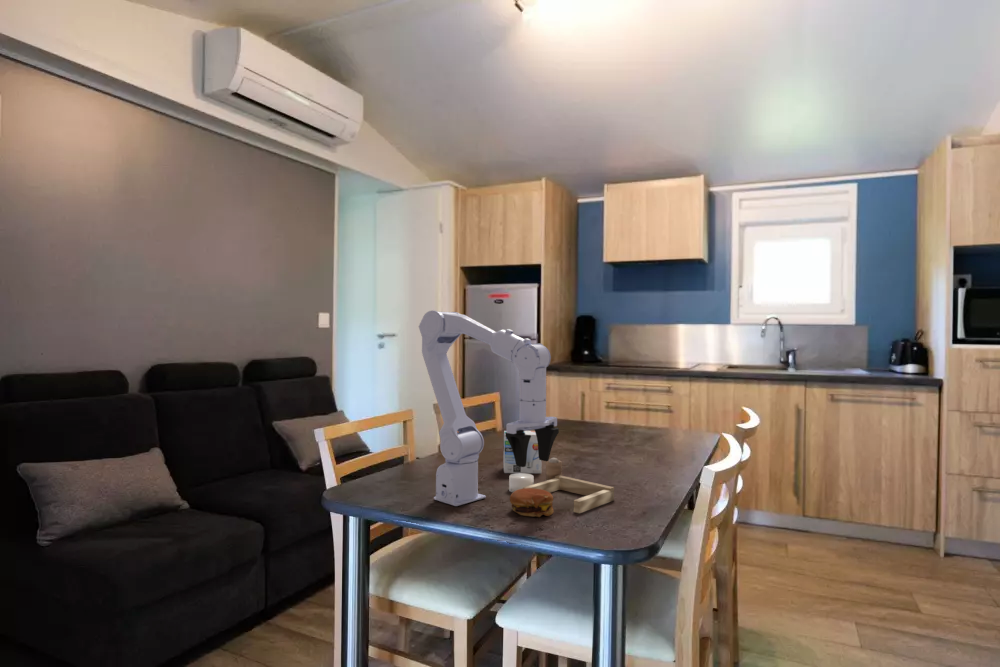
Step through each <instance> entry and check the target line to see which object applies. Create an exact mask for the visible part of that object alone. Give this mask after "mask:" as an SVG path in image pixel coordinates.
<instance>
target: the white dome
mask: <svg viewBox="0 0 1000 667" xmlns="http://www.w3.org/2000/svg"><path fill="white" fill-rule="evenodd" d="M508 478H509V479H508V480H509V482H508V490H509V492H510V493H513V492H514V491H516V490H518V489H523V487H527V486H530V485H534V484H535V482H534V481H535V480H534V478H535V477H534V475H533V474H532V473H510V475H509V477H508Z"/></svg>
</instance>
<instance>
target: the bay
mask: <svg viewBox="0 0 1000 667" xmlns="http://www.w3.org/2000/svg"><path fill="white" fill-rule="evenodd" d="M524 488H534V489H542V490H545V491H548V492H549V493H554V492H556V491H560V490H562V491H565V492H569V493H572V494H573V493H574V494H578V495H581V497H579V498H576V499H574V500H573V513H576V514H582V513H585V512H588V511H590V510H593V509H595V508H598V507H600V506H603V505H606V504H608V503H610V502H613V501H615V487H614V486H609V485H606V484H601V483H596V482H591V481H588V480H583V479H578V478H574V477H570V476H564V475H562V476H561V475H558V476H555V478H554V479H551V480H547V481H546V480H545V481H540V482H538V483H534V485H530V486H527V487H523V489H524Z"/></svg>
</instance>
